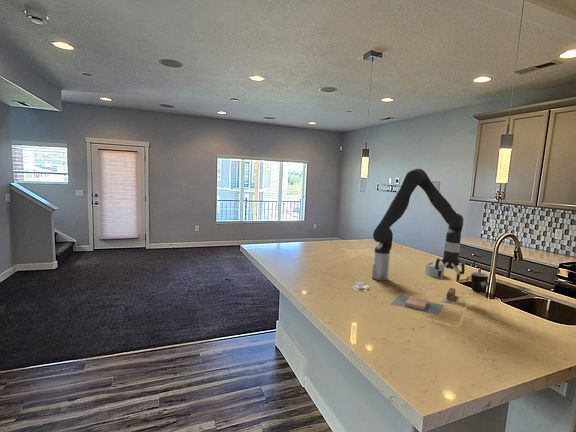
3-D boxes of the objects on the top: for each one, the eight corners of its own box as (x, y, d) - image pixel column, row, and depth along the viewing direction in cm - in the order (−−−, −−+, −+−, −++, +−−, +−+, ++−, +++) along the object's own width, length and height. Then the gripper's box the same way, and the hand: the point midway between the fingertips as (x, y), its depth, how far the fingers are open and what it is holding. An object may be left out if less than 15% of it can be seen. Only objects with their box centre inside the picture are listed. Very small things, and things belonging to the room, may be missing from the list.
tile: (410, 299, 167) (404, 305, 158) (410, 296, 167) (405, 302, 158) (428, 303, 162) (424, 310, 153) (429, 300, 162) (424, 306, 153)
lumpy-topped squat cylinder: (430, 277, 212) (431, 264, 211) (421, 271, 225) (422, 259, 224) (445, 277, 212) (446, 265, 211) (436, 272, 225) (437, 260, 224)
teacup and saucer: (369, 288, 186) (370, 281, 186) (367, 292, 179) (367, 285, 178) (354, 286, 190) (355, 279, 189) (351, 290, 182) (352, 283, 182)
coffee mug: (484, 289, 190) (486, 273, 189) (488, 294, 182) (490, 277, 180) (462, 286, 193) (464, 270, 192) (465, 291, 185) (467, 274, 184)
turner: (441, 303, 165) (441, 295, 165) (446, 293, 180) (446, 287, 180) (453, 306, 162) (454, 298, 162) (458, 296, 177) (458, 289, 176)
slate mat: (390, 305, 160) (390, 303, 160) (399, 296, 173) (399, 295, 173) (438, 316, 148) (438, 315, 148) (443, 306, 161) (443, 304, 161)
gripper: (436, 249, 174) (433, 277, 176) (465, 253, 166) (462, 283, 168) (438, 246, 180) (435, 274, 182) (467, 251, 172) (463, 280, 174)
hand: (448, 278), depth 175 cm, fingers open, 8 cm apart
